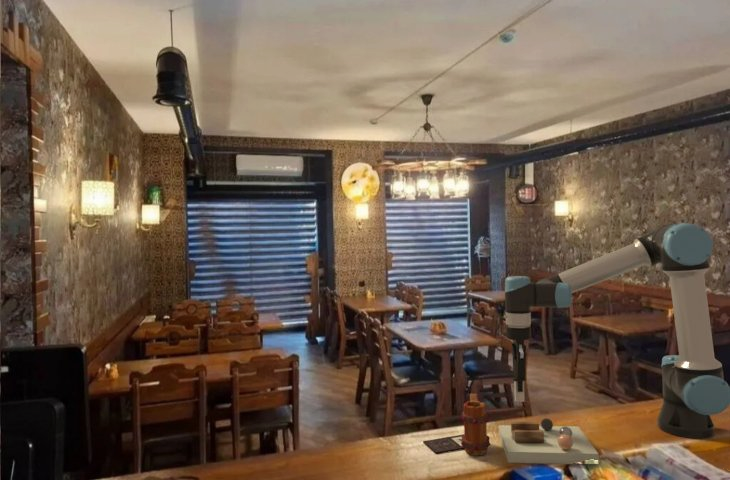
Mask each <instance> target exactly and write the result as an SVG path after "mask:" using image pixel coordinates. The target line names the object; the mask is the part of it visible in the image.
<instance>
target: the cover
mask: <svg viewBox="0 0 730 480" xmlns="http://www.w3.org/2000/svg"><path fill="white" fill-rule="evenodd" d="M510 425H511V433H512V435H513V438H514V440H515V442H529V443H544V432H543V430H539V426H540V423H539V422H538V421H510Z"/></svg>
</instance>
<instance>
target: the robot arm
mask: <svg viewBox="0 0 730 480" xmlns="http://www.w3.org/2000/svg"><path fill="white" fill-rule="evenodd" d="M713 250H714V242H713V239H712V236H711V235H710V233H709V232H708V231H707V229H705V228H703V227H702V226H700V225H697V224H695V223H694V224H693V223H690V222H680V223H668V224H665V225H662V226H660V227H658V228H655V229H654V230H652V231H650V232H649V233H647V234H644V235H641V236H639V237H637V238H635V239H634V240H633V243H631V244H629V245H626V246H624V247H620V248H619V249H616V250H614V251H612V252H608V253H606V254H604V255H601V256H599V257H597V258H594V259H592V260H589V261H586V262H584V263H581V264H579V265H577V266H574V267H572V268H569V269H567V270H564V271H562V272H560V273H557V274H555V275H552V276H549V277H544V278H542V279H540V280H538V281H537V282H531V278H530V277H529V276H523V275H515V276H514V275H513V276H511V275H510V276H507V277H506V278H505V280H504V303H505V308H504V309H505V314H504V315H503V319H505V324H506V325H505V326H506V327H505V337H506V339H509V340H512V343H511V344H510V347H511V356H512V357H511V358H512V374H513V378H512V380H513V382H514V383H513V384H514V401H515V403H517V402H518V403H520V402H521V403H523V402H526V401H525V381H526V365H527V364H526V358H527V356H528V355H527V352H526V351H527V346H526V344H525V341H528V340H530V339H531V337H532V331H531V330H532V329H531V324H532V315H531V314H532V312H531V308H558V309H562V308H570V307H571V306H572V304H573V303H572V301H573V293H576V292H579V291H581V290H584V289H586V288H590V287H591V286H594V285H597V284H601V283H602V282H604V281H607V280H609V279H613V278H615V277H618V276H620V275H623V274H626V273H627V272H630V271H633V270H635V269H637V268H641V267H644V266H646V267H653V266H655V265H658V264H661V267H662V272H663V273H664V274H666V275H667V276H668V278H669V283H670V285H669V286H670V291H671V300H672V308H673V316H674V324H675V333H676V340H677V348H678V349H677V350H678V354H677V355H676V354H673V355H672V354H670V355H664V356H663V357H662V359H661V373H662V377H661V378H662V405H661V408H660V411H659V413H658V416H657V427H658V428H659V429H660V430H661V431H663V432H665V433H668V434H670V435H674V436H677V437H683V438H689V439H690V438H691V439H706V438H711V437H713V436H714V435H715V434H716V433H715V424H714V422H713V419H712V417H711V416H714V415H718V414H720V413H722V412H724V411H725V410H726V409H727V408H729V406H730V385H729V383H728V382H727V381H725V380H724V370H723V364H722V363H721V361H719V360H718V359H716V358H715V351H714V342H713V335H712V333H713V332H712V327H711V320H710V319H711V318H710V310H709V302H708V294H707V286H706V279H705V274H707V272H708V271H709V270H710V269H711V267H710V266H711V265H710V259H709V258H710V257H711V256H712V254H713Z"/></svg>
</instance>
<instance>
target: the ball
mask: <svg viewBox="0 0 730 480" xmlns="http://www.w3.org/2000/svg"><path fill="white" fill-rule="evenodd" d="M563 426H564V427H562V428H561V429H560V435H563V434H566V435H568V436H570V437H572V430H571V429H570V428H569V427H566V426H565V425H563Z"/></svg>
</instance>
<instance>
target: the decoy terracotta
mask: <svg viewBox="0 0 730 480" xmlns="http://www.w3.org/2000/svg"><path fill="white" fill-rule="evenodd" d="M558 445H559V446H560V448H562V449H564V450H569V449H570V448H571V447H572V446H573V440H572V438H571V437H570V436H568V435H566V434H563V435H560V436H559V437H558Z"/></svg>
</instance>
